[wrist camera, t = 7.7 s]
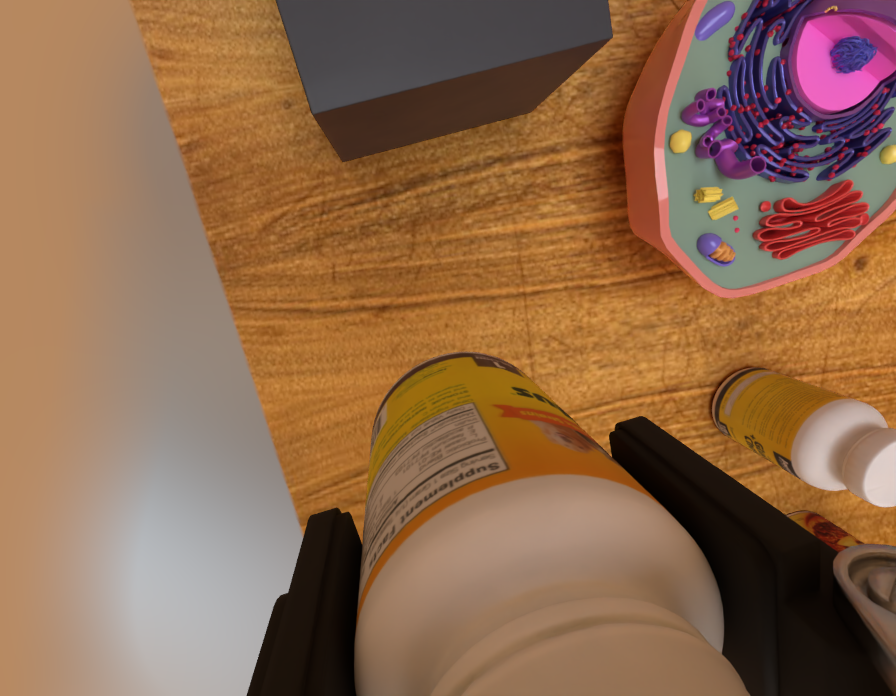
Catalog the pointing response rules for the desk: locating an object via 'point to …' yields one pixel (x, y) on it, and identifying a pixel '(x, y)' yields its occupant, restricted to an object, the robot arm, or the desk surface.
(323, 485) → the desk surface
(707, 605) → the supplement bottle
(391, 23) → the tiered shelf
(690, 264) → the cell model
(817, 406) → the pill bottle
